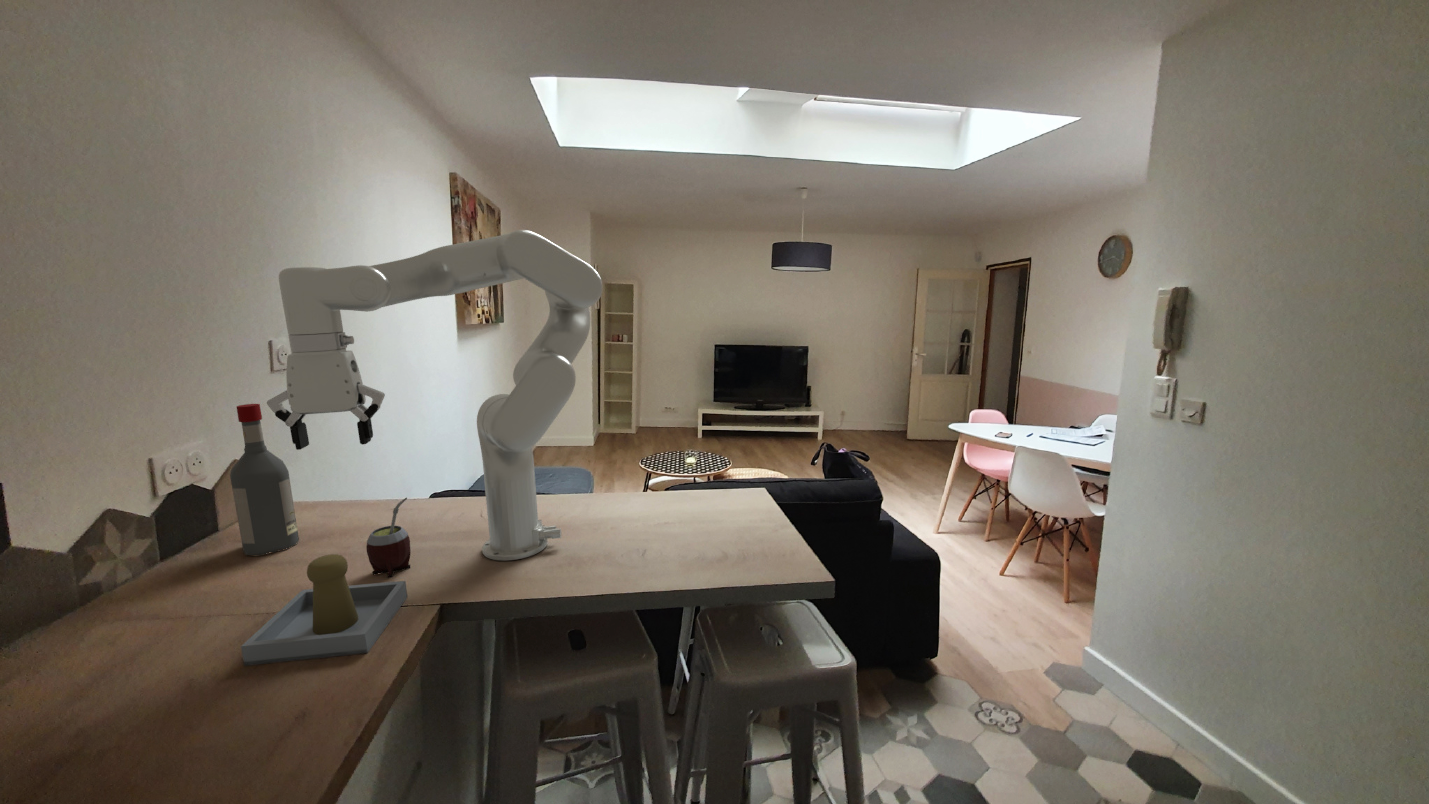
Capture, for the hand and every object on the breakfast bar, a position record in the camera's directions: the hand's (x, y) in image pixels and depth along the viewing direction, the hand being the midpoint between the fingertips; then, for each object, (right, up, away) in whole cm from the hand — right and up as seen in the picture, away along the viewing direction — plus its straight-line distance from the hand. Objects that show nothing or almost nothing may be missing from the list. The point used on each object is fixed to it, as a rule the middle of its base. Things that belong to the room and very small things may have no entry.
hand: (334, 445), depth 98 cm
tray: (+5, -28, -8) cm, 30 cm away
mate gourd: (+4, -25, +11) cm, 27 cm away
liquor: (-28, -23, +22) cm, 43 cm away
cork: (+6, -27, -8) cm, 29 cm away
